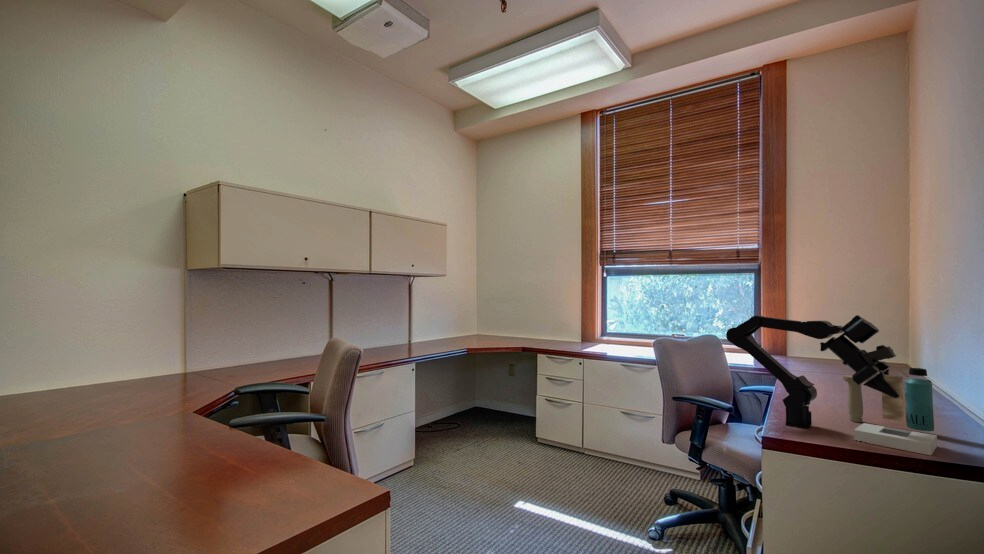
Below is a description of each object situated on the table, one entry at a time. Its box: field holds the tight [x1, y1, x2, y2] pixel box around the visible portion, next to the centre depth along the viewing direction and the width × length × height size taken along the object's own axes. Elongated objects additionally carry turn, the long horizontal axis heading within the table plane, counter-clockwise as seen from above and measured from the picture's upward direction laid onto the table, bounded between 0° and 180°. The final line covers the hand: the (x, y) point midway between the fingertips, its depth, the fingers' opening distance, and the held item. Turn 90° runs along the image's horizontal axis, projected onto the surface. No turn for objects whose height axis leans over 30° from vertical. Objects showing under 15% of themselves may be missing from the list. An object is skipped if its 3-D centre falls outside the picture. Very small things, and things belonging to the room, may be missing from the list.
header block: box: [853, 422, 938, 456], centre depth 127 cm, size 16×12×3 cm
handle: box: [842, 374, 867, 423], centre depth 151 cm, size 5×6×15 cm
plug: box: [881, 374, 905, 422], centre depth 127 cm, size 4×4×12 cm
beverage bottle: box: [904, 367, 935, 432], centre depth 137 cm, size 6×7×20 cm
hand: (899, 396), depth 126 cm, fingers closed on plug, 4 cm apart
